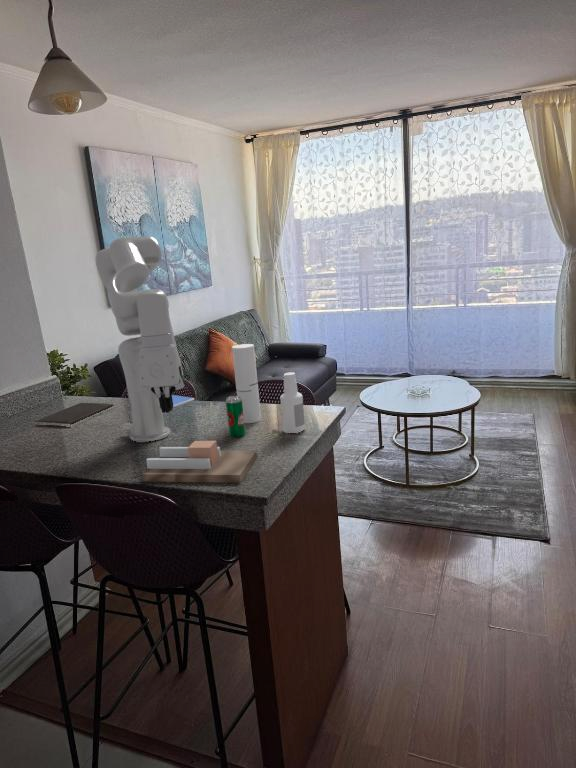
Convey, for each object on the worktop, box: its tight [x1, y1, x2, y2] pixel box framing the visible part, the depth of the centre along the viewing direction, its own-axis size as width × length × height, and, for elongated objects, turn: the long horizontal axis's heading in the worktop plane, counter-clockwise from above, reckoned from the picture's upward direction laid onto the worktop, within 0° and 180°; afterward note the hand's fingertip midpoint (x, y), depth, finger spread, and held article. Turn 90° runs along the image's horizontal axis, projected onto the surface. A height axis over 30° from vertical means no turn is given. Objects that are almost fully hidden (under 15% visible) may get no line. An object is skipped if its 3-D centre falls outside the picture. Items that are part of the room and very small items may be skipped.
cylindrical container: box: [231, 343, 262, 424], centre depth 180 cm, size 7×7×25 cm
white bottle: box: [279, 371, 306, 435], centre depth 167 cm, size 7×7×18 cm
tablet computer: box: [172, 394, 195, 408], centre depth 216 cm, size 19×13×1 cm, turn 53°
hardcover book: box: [35, 402, 115, 425], centre depth 205 cm, size 16×23×2 cm
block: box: [187, 440, 218, 466], centre depth 144 cm, size 6×5×5 cm
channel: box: [146, 446, 221, 469], centre depth 145 cm, size 17×9×2 cm, turn 78°
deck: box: [141, 450, 258, 484], centre depth 145 cm, size 26×16×2 cm, turn 78°
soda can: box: [225, 395, 246, 439], centre depth 168 cm, size 5×5×12 cm
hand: (167, 411), depth 142 cm, fingers closed
